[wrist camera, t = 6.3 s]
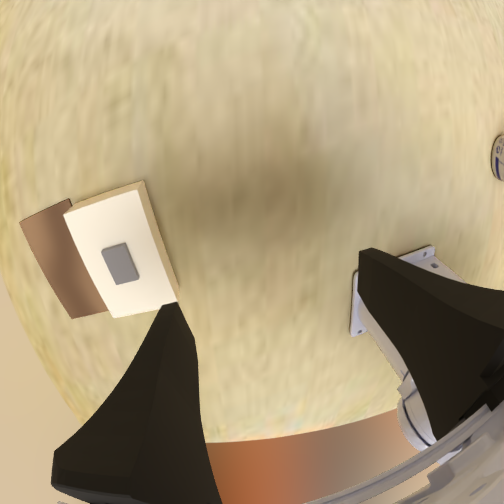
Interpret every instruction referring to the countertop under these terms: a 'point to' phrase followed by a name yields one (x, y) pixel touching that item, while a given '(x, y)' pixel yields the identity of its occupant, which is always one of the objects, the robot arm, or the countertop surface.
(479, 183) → the countertop surface
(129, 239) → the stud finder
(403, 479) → the robot arm
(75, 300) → the brown flat slab
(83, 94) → the countertop surface
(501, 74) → the countertop surface
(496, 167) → the energy drink
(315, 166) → the countertop surface
